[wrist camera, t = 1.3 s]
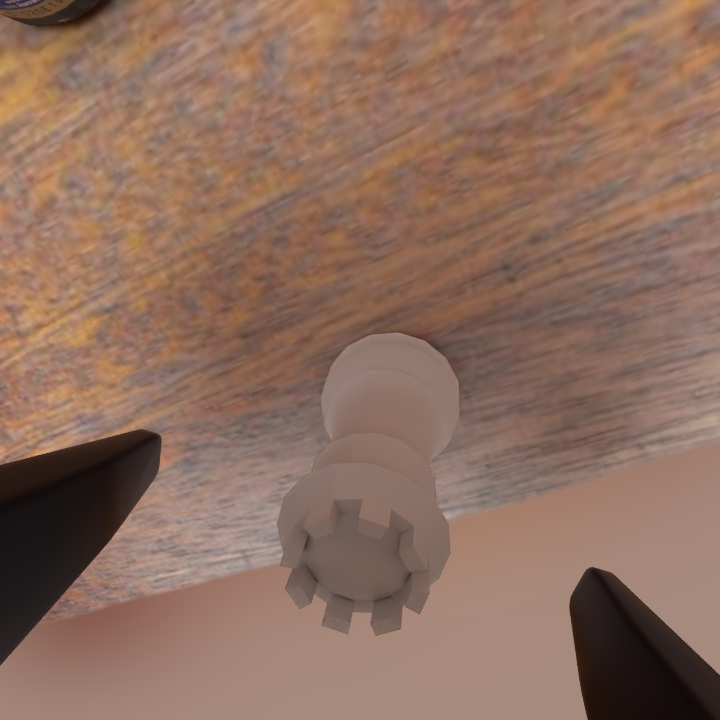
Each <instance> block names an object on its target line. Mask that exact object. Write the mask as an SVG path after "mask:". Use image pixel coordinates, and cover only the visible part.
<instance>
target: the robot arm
mask: <svg viewBox="0 0 720 720" xmlns="http://www.w3.org/2000/svg"><path fill="white" fill-rule="evenodd" d="M160 453H161V436H160V435H159V434H157V433H154V432H150V431H147V430H143V429H140V430H136V431H132V432H128V433H124V434H120V435H116V436H112V437H108V438H104V439H100V440H97V441H93V442H89V443H85V444H81V445H77V446H73V447H69V448H65V449H61V450H57V451H53V452H50V453H46V454H42V455H38V456H34V457H30V458H26V459H22V460H18V461H14V462H10V463H6V464H3V465H0V665H1V664H2V663H3V662H4V661H5V660H6V658H7V657H8V656H9V655H10V654H11V653H12V652H13V650H14V649H15V648H16V647H17V646H18V645H19V644H20V642H21V641H22V640H23V639H24V638H25V637H26V636H27V635H28V633H29V632H30V631H31V630H32V629H33V628H34V627H35V625H36V624H37V623H38V622H39V621H40V620H41V619H42V617H43V616H44V615H45V614H46V613H47V612H48V611H49V610H50V608H51V607H52V606H53V605H54V604H55V603H56V602H57V600H58V599H59V598H60V597H61V596H62V595H63V594H64V592H65V591H66V590H67V589H68V588H69V587H70V586H71V585H72V583H73V582H74V581H75V580H76V579H77V578H78V577H79V575H80V574H81V573H82V572H83V571H84V570H85V569H86V567H87V566H88V565H89V564H90V563H91V562H92V561H93V560H94V558H95V557H96V556H97V555H98V554H99V553H100V552H101V550H102V549H103V548H104V547H105V546H106V544H107V543H108V542H109V541H110V540H111V538H112V537H113V536H114V534H115V533H116V532H117V530H118V529H119V528H120V526H121V525H122V524H123V522H124V521H125V519H126V518H127V517H128V515H129V514H130V512H131V511H132V510H133V508H134V507H135V505H136V504H137V503H138V501H139V500H140V498H141V497H142V496H143V494H144V493H145V491H146V490H147V489H148V487H149V486H150V484H151V483H152V482H153V480H154V479H155V477H156V475H157V473H158V470H159V464H160ZM569 607H570V616H571V623H572V629H573V637H574V644H575V651H576V658H577V666H578V672H579V680H580V686H581V691H582V696H583V701H584V706H585V710H586V714H587V718H588V720H720V675H719V674H718V673H717V672H716V671H715V670H714V669H713V668H712V667H710V665H708V664H707V663H706V662H705V661H704V660H703V659H702V658H701V657H700V656H699V655H698V654H697V653H696V652H695V651H693V649H692V648H691V647H689V645H687V644H686V643H685V642H684V641H683V640H682V639H681V638H680V637H679V636H678V635H677V634H676V633H675V632H674V631H673V630H672V629H671V628H669V626H667V625H666V624H665V623H664V622H663V621H662V620H661V619H660V618H659V617H658V616H657V615H656V614H655V613H654V612H653V611H652V610H651V609H649V607H648V606H646V605H645V604H644V603H643V602H642V601H641V600H640V599H639V598H638V597H637V596H636V595H635V594H634V593H633V592H632V591H631V590H630V589H629V588H627V587H626V586H625V585H624V584H623V583H622V582H621V581H620V580H619V579H618V578H617V577H616V576H615V575H614V574H612V573H610V572H607V571H604V570H601V569H597V568H594V567H591V568H589V569H587V570H586V571H585V572H584V574H583V576H582V578H581V580H580V581H579V583H578V585H577V586H576V588H575V590H574V592H573V594H572V596H571V599H570V606H569Z"/></svg>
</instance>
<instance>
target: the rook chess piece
mask: <svg viewBox="0 0 720 720" xmlns="http://www.w3.org/2000/svg"><path fill="white" fill-rule="evenodd" d="M459 407H460V401H459V382H458V380H457V378H456V376H455V374H454V372H453V370H452V368H451V366H450V364H449V362H448V361H447V359H446V358H445V357H444V356H443V355H442V354H441V353H439V352H438V351H437V350H436V349H434V348H433V347H432V346H431V345H430V344H428V343H427V342H426V341H424V340H421V339H418V338H415V337H411V336H408V335H405V334H402V333H399V332H396V333H383V334H370V335H369V336H367V337H365V338H363V339H361V340H359V341H357V342H355V343H353V344H351V345H349V346H347V347H346V348H345V349H344V351H343V352H342V353H341V354H340V355H339V357H338V358H337V359H336V360H335V361H334V363H333V364H332V365H331V368H330V372H329V374H328V376H327V378H326V382H325V386H324V389H323V393H322V397H321V408H322V414H323V420H324V427H325V430H326V431H327V433H328V435H329V438H330V440H331V443H330V444H329V445H328V446H327V447H326V448H325V449H324V450H323V451H322V452H321V454H320V455H319V456H318V457H317V458H316V459H315V461H314V465H313V468H312V472H311V473H310V474H307V475H305V476H303V477H302V478H301V479H300V480H299V482H298V483H297V484H296V485H295V486H294V487H293V488H292V489H291V490H290V491H289V493H288V494H287V495H286V496H285V497H284V500H283V504H282V507H281V511H280V515H279V519H278V523H277V525H278V529H279V534H280V539H281V543H282V548H283V551H284V553H283V557H282V560H281V564H280V566H283V567H288V568H293V569H292V572H291V574H290V577H289V579H288V582H287V585H286V587H285V589H286V591H287V592H288V594H289V595H290V596H291V598H292V599H293V601H294V602H295V604H296V605H297V606H298V608H299V609H301V608H303V607H305V606H306V605H308V604H310V603H311V602H312V599H313V596H314V594H316V595H317V596H318V597H320V598H321V599H322V600H324V601H325V602H327V607H326V610H325V614H324V618H323V622H322V626H325V627H328V628H331V629H334V630H337V631H339V632H343V633H345V634H348V632H349V627H350V622H351V617H352V612H366V613H372V618H371V625H372V628H373V630H374V633H375V635H376V636H377V635H381V634H385V633H388V632H392V631H396V630H399V629H401V620H402V606H403V605H405V607H407V608H409V609H411V610H413V611H414V612H416V613H418V614H420V613H421V611H422V609H423V606H424V604H425V602H426V600H427V598H428V595H429V586H430V585H431V584H433V583H434V582H435V581H436V580H438V579H439V577H440V575H441V573H442V570H443V568H444V566H445V563H446V562H447V559H448V557H449V555H450V541H449V527H448V523H447V521H446V519H445V518H444V516H443V514H442V512H441V511H440V509H439V507H438V506H437V504H436V500H437V498H436V485H435V477H434V475H433V474H432V472H431V470H430V468H429V463H430V462H431V461H432V460H433V459H434V458H435V457H437V456H438V455H439V454H440V453H441V452H442V451H443V450H444V449H445V448H446V447H447V446H448V444H449V442H450V440H451V438H452V435H453V433H454V430H455V428H456V425H457V423H458V420H459Z"/></svg>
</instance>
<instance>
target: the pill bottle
mask: <svg viewBox="0 0 720 720" xmlns="http://www.w3.org/2000/svg"><path fill="white" fill-rule="evenodd" d="M99 1H100V0H0V14H2V15H4V16H6V17H9V18H11V19H13V20H16V21H19V22H22V23H25V24H28V25H45V24H62V23H64V22H68V21H73V20H75V19H76V18H78V17H80V16H81V15H83V14H84V13H86V12H87V11H89V10H90V9H92V8H93V7H94V6H96V5H97V3H98V2H99Z"/></svg>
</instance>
